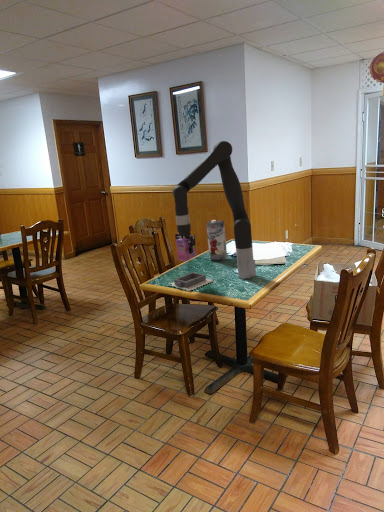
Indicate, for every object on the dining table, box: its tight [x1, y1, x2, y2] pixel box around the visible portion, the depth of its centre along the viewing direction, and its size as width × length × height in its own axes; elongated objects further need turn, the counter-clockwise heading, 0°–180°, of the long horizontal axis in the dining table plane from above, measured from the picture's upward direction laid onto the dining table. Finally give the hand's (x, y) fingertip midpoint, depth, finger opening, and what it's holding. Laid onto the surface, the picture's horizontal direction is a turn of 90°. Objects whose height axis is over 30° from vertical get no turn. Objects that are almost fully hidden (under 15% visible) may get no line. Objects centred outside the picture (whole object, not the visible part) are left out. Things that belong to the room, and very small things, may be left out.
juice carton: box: [205, 219, 228, 262], centre depth 259 cm, size 9×10×27 cm
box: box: [175, 238, 197, 262], centre depth 217 cm, size 10×6×12 cm, turn 146°
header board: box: [170, 271, 214, 290], centre depth 222 cm, size 18×18×4 cm
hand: (186, 252), depth 217 cm, fingers closed on box, 6 cm apart
